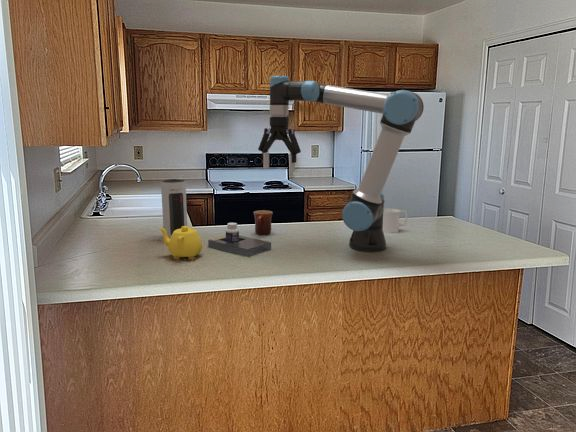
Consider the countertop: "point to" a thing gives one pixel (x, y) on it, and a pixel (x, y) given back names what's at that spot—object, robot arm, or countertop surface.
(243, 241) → the grey flat block
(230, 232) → the pill bottle
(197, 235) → the teapot
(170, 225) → the speaker
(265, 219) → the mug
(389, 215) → the cup
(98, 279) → the countertop surface
